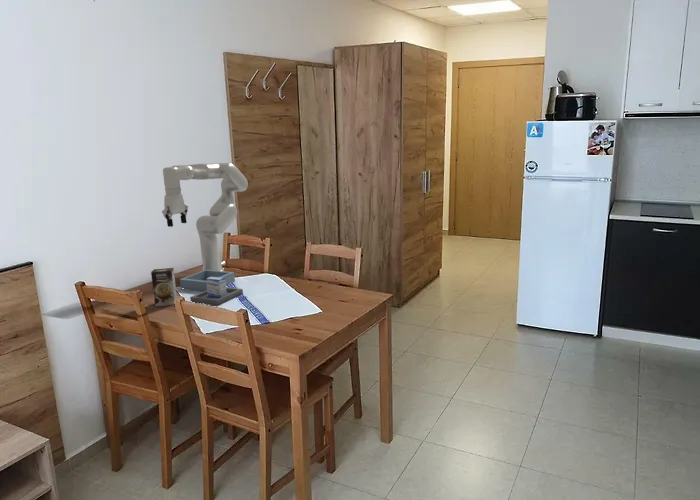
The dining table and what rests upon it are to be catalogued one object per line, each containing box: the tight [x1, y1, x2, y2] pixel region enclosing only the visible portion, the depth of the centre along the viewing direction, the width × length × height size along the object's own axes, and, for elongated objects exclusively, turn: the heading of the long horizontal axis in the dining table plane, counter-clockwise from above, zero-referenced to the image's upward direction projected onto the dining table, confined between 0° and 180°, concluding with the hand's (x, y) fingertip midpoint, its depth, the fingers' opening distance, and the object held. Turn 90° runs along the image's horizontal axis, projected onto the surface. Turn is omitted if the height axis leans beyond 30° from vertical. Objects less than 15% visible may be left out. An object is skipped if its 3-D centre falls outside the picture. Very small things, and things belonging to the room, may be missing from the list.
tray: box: [189, 286, 244, 307], centre depth 251 cm, size 18×16×2 cm
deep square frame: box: [179, 270, 236, 292], centre depth 273 cm, size 19×19×5 cm
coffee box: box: [150, 267, 178, 307], centre depth 245 cm, size 9×6×16 cm
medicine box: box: [205, 277, 227, 298], centre depth 250 cm, size 8×4×9 cm, turn 66°
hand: (177, 224), depth 276 cm, fingers open, 9 cm apart
